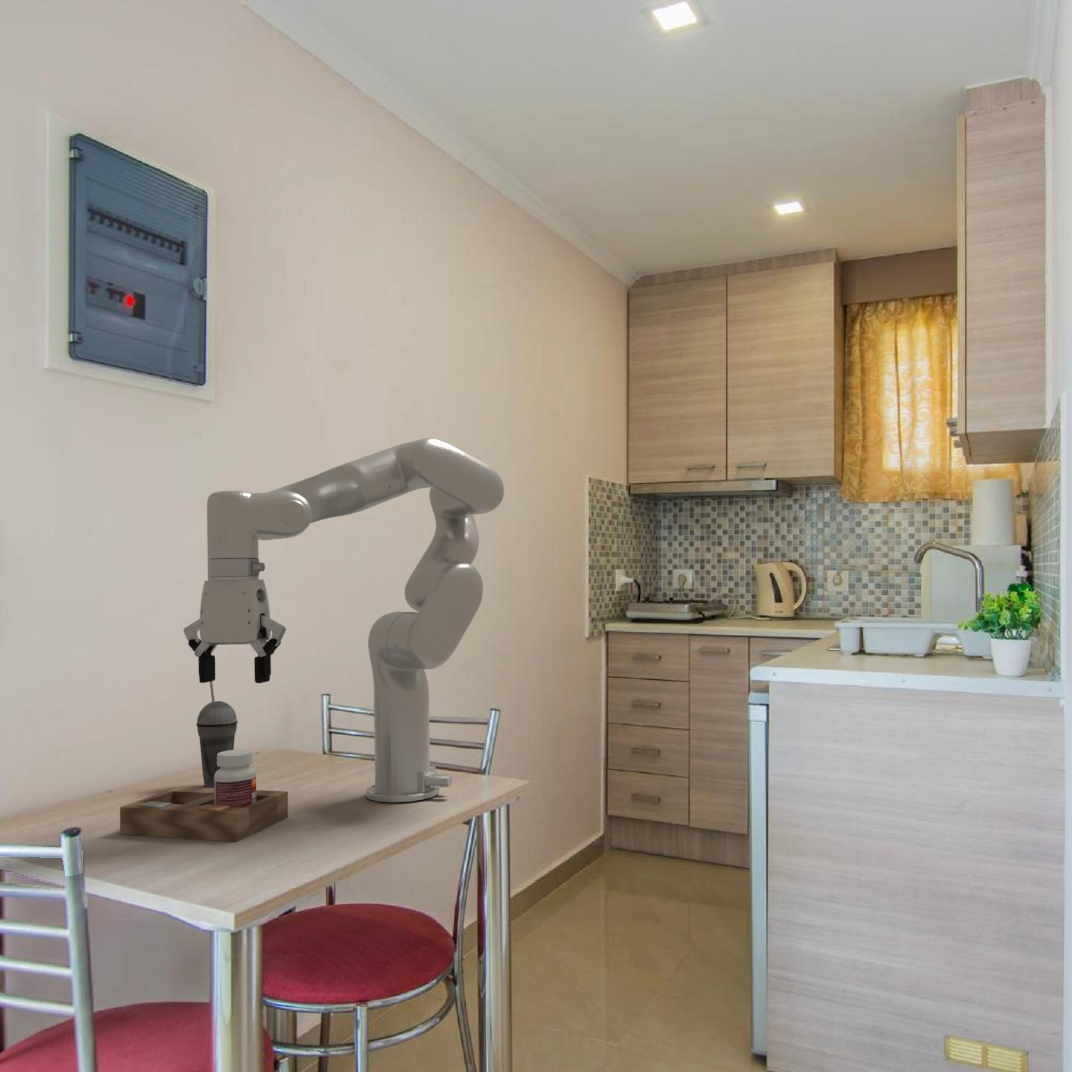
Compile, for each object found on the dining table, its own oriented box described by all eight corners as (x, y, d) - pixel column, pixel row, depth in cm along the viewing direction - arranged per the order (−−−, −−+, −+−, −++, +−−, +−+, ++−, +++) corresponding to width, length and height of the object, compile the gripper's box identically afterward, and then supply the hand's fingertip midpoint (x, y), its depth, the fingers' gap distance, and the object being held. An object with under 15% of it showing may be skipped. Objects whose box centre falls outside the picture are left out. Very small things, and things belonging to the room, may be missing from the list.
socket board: (288, 817, 147) (287, 789, 147) (236, 841, 133) (236, 811, 133) (179, 811, 152) (179, 784, 152) (120, 834, 138) (120, 805, 139)
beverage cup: (230, 790, 166) (229, 679, 167) (190, 791, 167) (189, 679, 167) (243, 781, 174) (243, 674, 175) (205, 782, 174) (204, 675, 175)
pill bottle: (261, 828, 140) (261, 752, 141) (220, 834, 137) (219, 757, 137) (249, 819, 145) (249, 747, 146) (209, 826, 142) (209, 751, 143)
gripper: (295, 569, 144) (297, 679, 144) (200, 572, 149) (201, 679, 148) (269, 569, 137) (271, 685, 136) (169, 572, 142) (170, 684, 141)
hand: (234, 682), depth 142 cm, fingers open, 9 cm apart
